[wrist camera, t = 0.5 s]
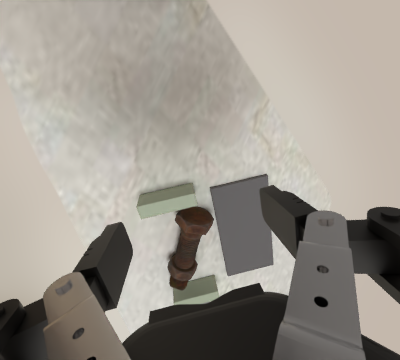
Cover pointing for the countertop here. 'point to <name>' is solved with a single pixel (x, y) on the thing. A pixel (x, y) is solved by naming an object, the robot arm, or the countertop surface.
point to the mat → (242, 225)
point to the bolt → (188, 244)
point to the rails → (169, 202)
